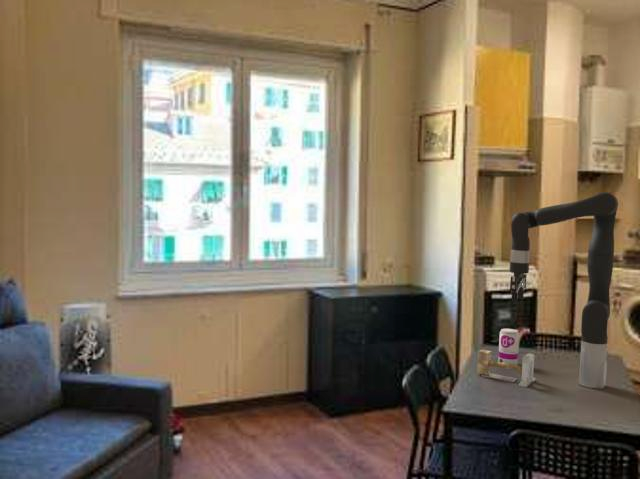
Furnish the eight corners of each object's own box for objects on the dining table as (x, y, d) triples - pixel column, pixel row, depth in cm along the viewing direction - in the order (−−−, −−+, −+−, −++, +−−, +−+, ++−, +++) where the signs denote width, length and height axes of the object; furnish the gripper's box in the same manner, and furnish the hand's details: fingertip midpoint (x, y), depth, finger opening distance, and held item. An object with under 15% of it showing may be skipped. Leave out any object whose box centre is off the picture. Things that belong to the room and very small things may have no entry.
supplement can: (513, 367, 273) (515, 333, 272) (495, 364, 278) (497, 330, 277) (520, 364, 279) (522, 330, 278) (502, 360, 284) (504, 327, 283)
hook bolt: (522, 378, 253) (524, 356, 253) (519, 381, 250) (521, 358, 249) (480, 371, 263) (481, 349, 262) (477, 373, 260) (478, 351, 259)
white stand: (535, 380, 255) (536, 353, 254) (526, 387, 245) (528, 358, 244) (488, 371, 265) (489, 345, 264) (478, 378, 255) (479, 350, 254)
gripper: (523, 263, 254) (521, 303, 255) (533, 260, 266) (531, 299, 267) (505, 261, 258) (502, 301, 260) (515, 259, 270) (513, 297, 271)
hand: (517, 300), depth 263 cm, fingers open, 8 cm apart
